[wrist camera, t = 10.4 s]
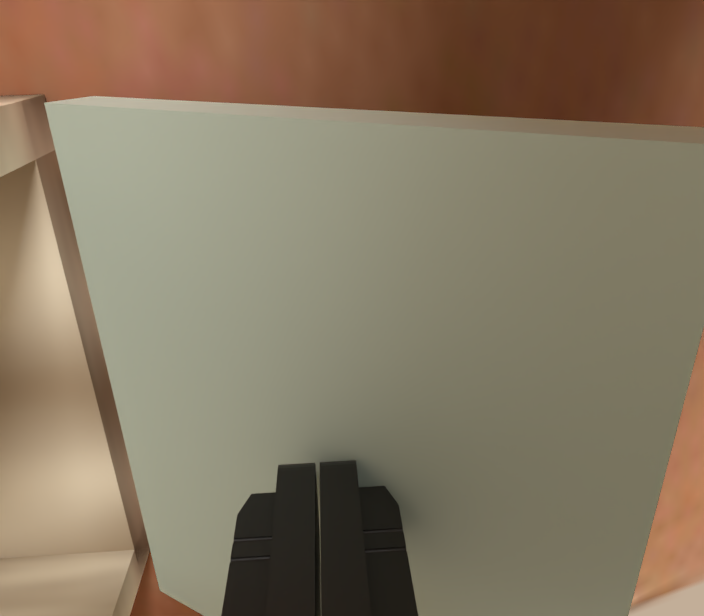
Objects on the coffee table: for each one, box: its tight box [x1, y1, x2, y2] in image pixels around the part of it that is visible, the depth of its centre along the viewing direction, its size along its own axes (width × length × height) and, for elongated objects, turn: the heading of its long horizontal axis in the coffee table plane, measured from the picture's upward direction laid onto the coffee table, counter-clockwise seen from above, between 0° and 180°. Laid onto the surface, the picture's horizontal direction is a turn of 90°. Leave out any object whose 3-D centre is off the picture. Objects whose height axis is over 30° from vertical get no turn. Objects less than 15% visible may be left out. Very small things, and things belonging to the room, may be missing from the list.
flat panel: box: [44, 96, 704, 616], centre depth 13 cm, size 14×1×12 cm
